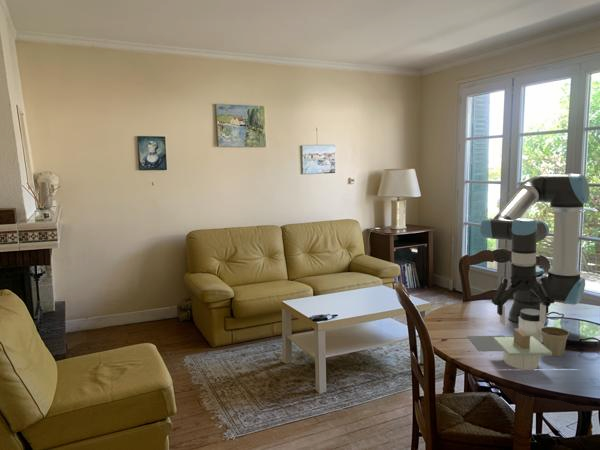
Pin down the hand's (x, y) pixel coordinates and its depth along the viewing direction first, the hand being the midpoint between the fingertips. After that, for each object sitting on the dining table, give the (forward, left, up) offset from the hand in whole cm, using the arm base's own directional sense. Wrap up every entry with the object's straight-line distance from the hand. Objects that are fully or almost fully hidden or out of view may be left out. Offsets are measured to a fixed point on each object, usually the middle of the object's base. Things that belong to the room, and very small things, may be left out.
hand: (522, 323), depth 155 cm
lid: (0, 0, -9) cm, 9 cm away
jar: (-12, -20, -15) cm, 27 cm away
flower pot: (-15, -8, -15) cm, 22 cm away
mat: (+4, -17, -15) cm, 23 cm away
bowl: (0, 0, -15) cm, 15 cm away
